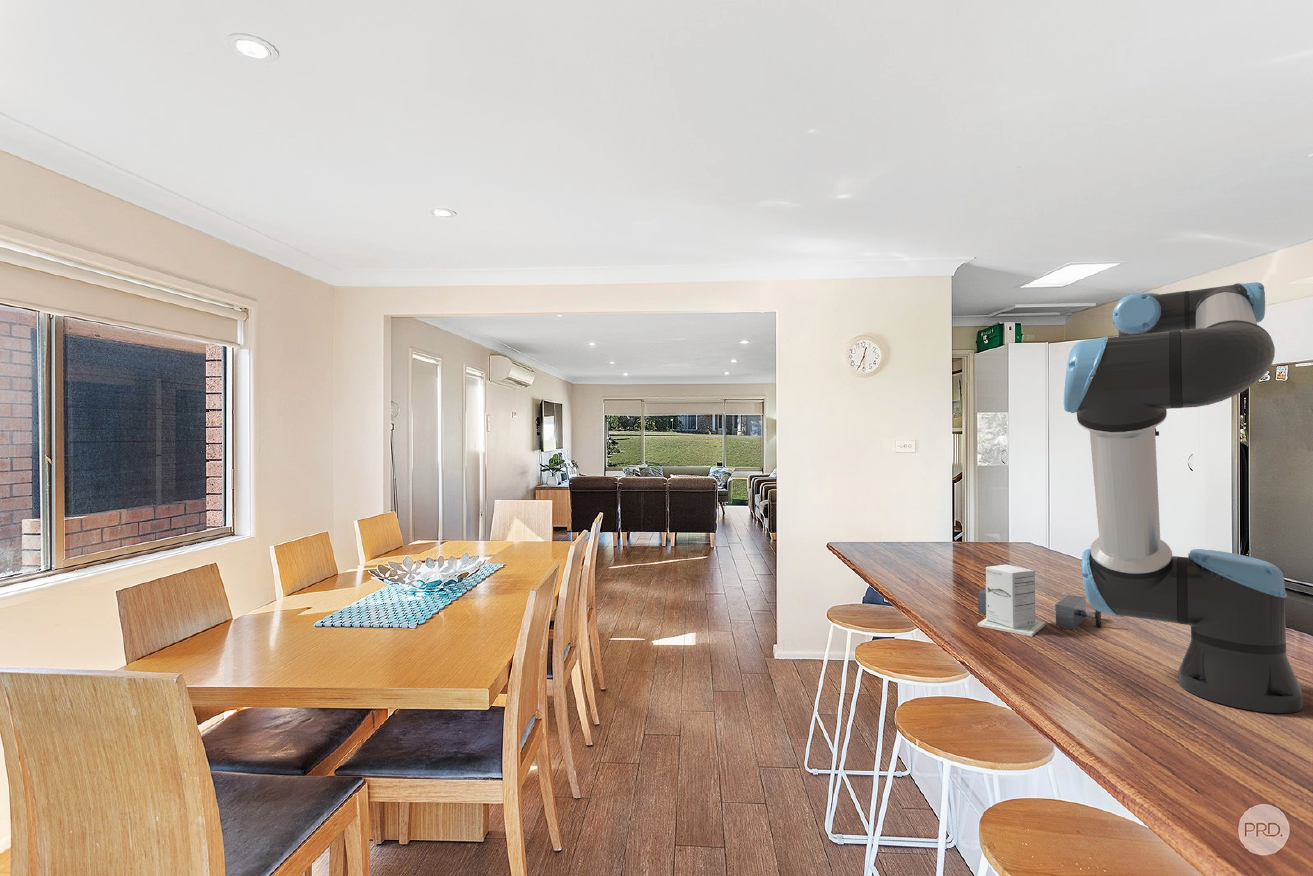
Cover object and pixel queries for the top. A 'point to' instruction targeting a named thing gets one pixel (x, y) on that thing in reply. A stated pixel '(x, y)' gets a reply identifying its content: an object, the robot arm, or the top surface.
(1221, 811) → the top surface
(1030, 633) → the plate
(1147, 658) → the top surface
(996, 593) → the supplement box
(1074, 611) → the vise
